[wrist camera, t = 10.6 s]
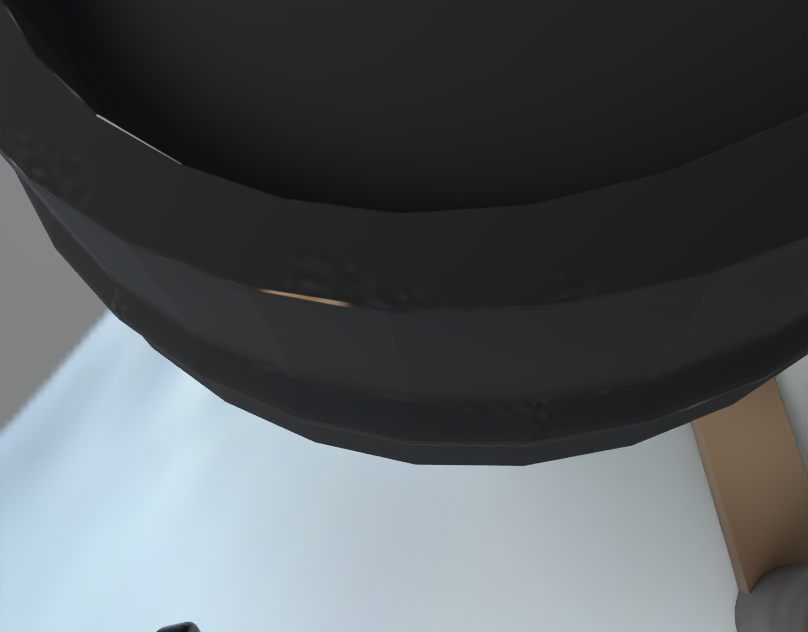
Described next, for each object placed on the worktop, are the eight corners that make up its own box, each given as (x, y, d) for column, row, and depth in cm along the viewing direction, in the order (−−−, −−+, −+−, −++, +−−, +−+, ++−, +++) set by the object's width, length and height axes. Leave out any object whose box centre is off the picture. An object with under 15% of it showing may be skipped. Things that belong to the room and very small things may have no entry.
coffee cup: (638, 530, 17) (1608, 542, 2) (294, 488, 18) (-474, 320, 3) (647, 207, 19) (1156, -777, 5) (342, 189, 20) (0, -649, 6)
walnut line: (554, -16, 21) (570, -134, 17) (640, -34, 21) (674, -157, 17) (755, 696, 15) (845, 751, 12) (875, 677, 15) (1007, 727, 11)
